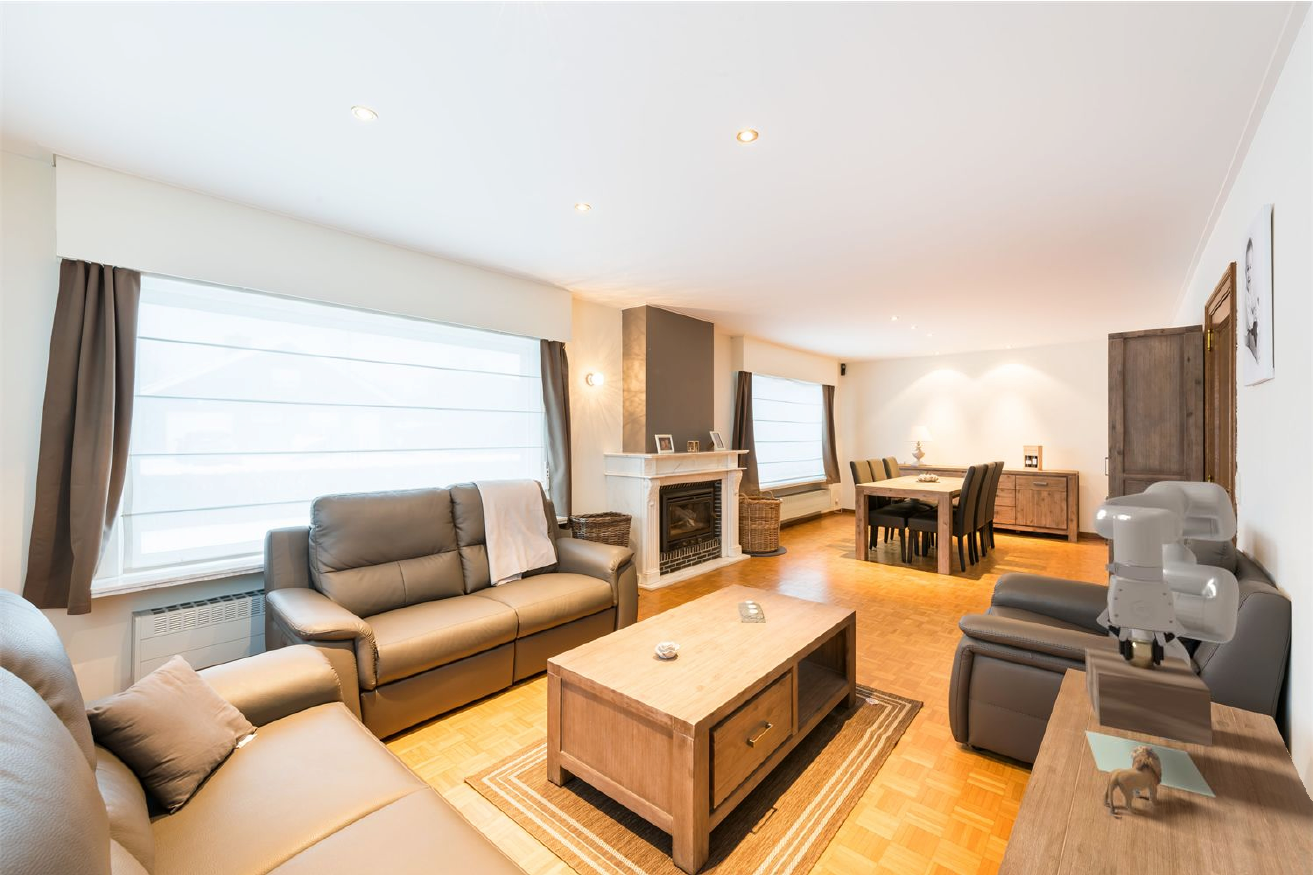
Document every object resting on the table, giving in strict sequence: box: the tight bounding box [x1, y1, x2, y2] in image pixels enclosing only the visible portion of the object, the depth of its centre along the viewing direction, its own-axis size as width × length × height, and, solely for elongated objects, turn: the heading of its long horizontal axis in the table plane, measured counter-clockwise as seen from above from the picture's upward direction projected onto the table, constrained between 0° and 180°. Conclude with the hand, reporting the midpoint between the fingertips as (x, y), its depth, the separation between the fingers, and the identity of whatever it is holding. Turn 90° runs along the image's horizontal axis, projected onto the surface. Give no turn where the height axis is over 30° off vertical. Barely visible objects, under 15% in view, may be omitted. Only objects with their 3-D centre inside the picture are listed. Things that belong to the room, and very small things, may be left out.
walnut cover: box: [1084, 636, 1213, 748], centre depth 110 cm, size 16×16×16 cm
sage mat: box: [1084, 730, 1216, 798], centre depth 109 cm, size 17×17×1 cm
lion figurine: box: [1102, 745, 1162, 815], centre depth 97 cm, size 15×5×9 cm, turn 117°
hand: (1141, 659), depth 110 cm, fingers closed on walnut cover, 4 cm apart
